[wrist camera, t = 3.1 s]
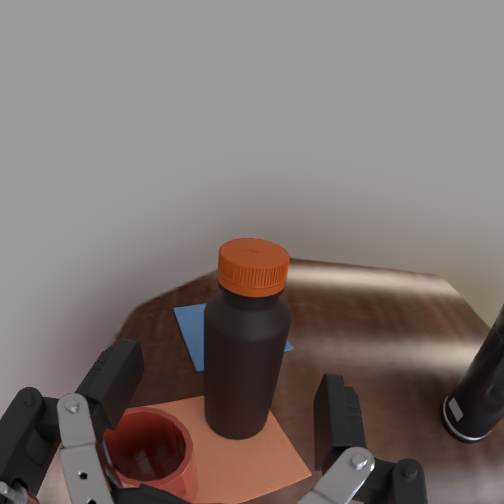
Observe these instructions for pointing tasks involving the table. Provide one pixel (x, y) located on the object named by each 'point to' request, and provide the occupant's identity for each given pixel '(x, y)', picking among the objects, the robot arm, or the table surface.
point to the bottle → (245, 336)
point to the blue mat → (197, 332)
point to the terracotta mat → (237, 457)
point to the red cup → (154, 452)
